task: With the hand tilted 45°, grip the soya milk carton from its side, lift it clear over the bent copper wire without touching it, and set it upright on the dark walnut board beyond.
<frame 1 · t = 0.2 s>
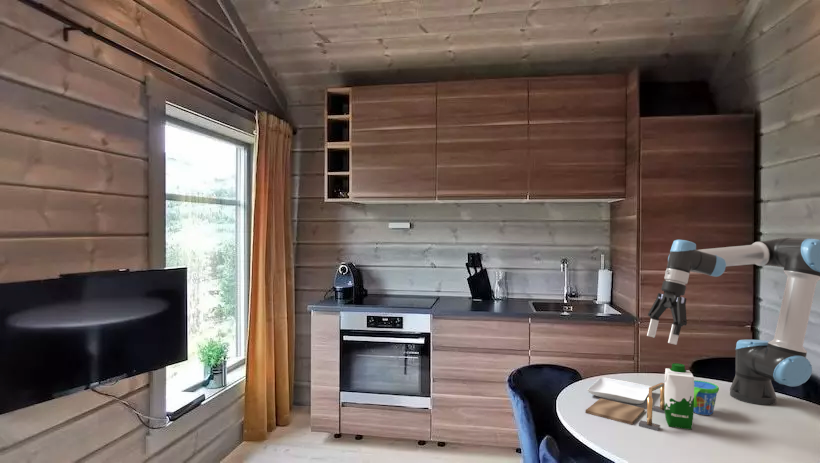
hand: (661, 340, 176), 27 cm above the table, tool tilted 15°, fingers open, 13 cm apart
copper wire: (656, 418, 174), on the table
snack cup: (701, 412, 181), on the table
salad plate: (620, 396, 198), on the table
soya milk: (678, 424, 169), on the table
walnut board: (615, 412, 180), on the table
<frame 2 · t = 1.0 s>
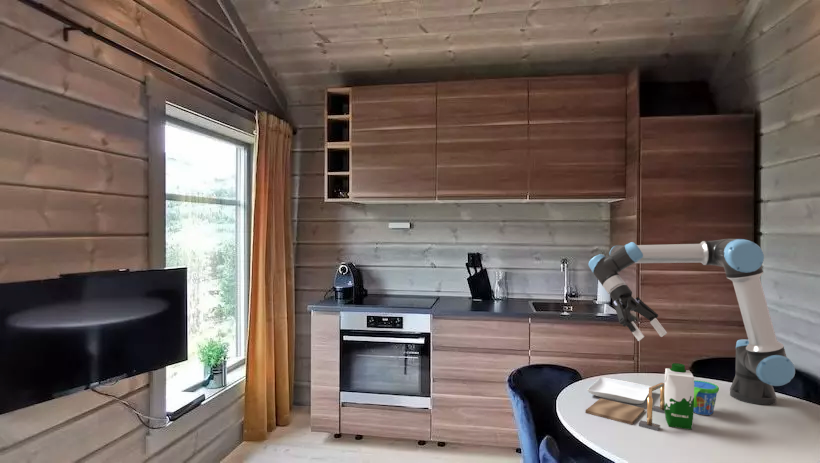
hand: (653, 337, 177), 28 cm above the table, tool tilted 45°, fingers open, 13 cm apart
nothing on the table moved.
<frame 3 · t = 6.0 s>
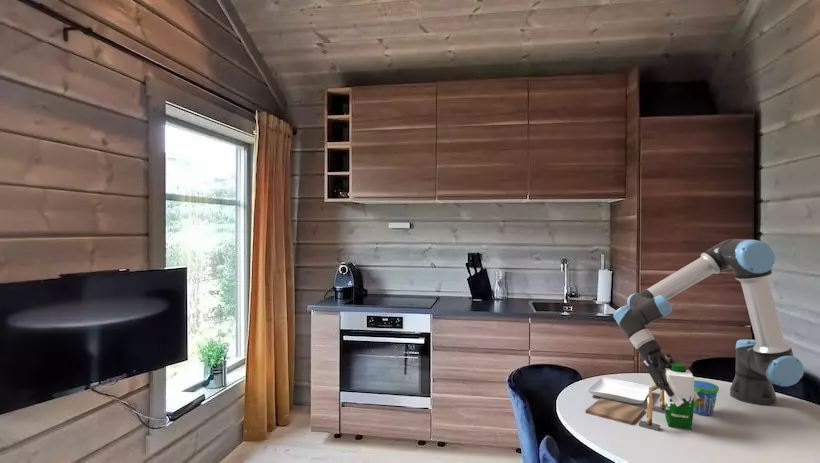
hand: (688, 402, 166), 9 cm above the table, tool tilted 45°, fingers closed on soya milk, 8 cm apart
soya milk: (678, 424, 169), on the table, touching gripper
everything else where it was.
when the fingers open (11 cm above the table, at t = 14.2 s): soya milk drops 1 cm, resting on walnut board.
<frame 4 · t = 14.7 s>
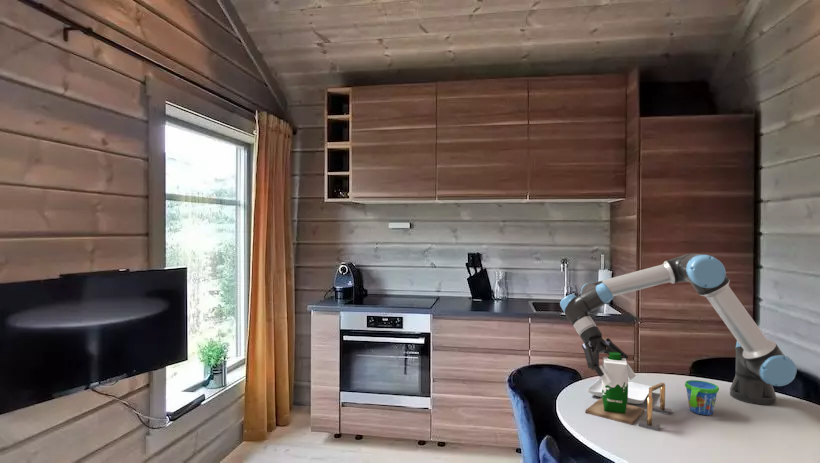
hand: (621, 380, 178), 12 cm above the table, tool tilted 45°, fingers open, 13 cm apart
soya milk: (614, 409, 180), point 1 cm above the table, touching walnut board
everything else where it was.
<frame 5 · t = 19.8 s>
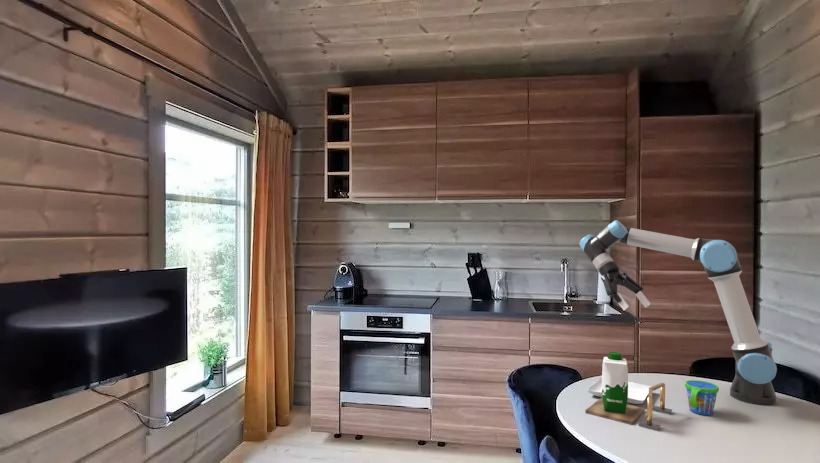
hand: (637, 307, 195), 36 cm above the table, tool tilted 45°, fingers open, 13 cm apart
nothing on the table moved.
at the end: soya milk inside the target area on the walnut board (0.3 cm from its centre), point 0.8 cm above the walnut board's base; soya milk tilted 0°; soya milk touching walnut board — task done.
